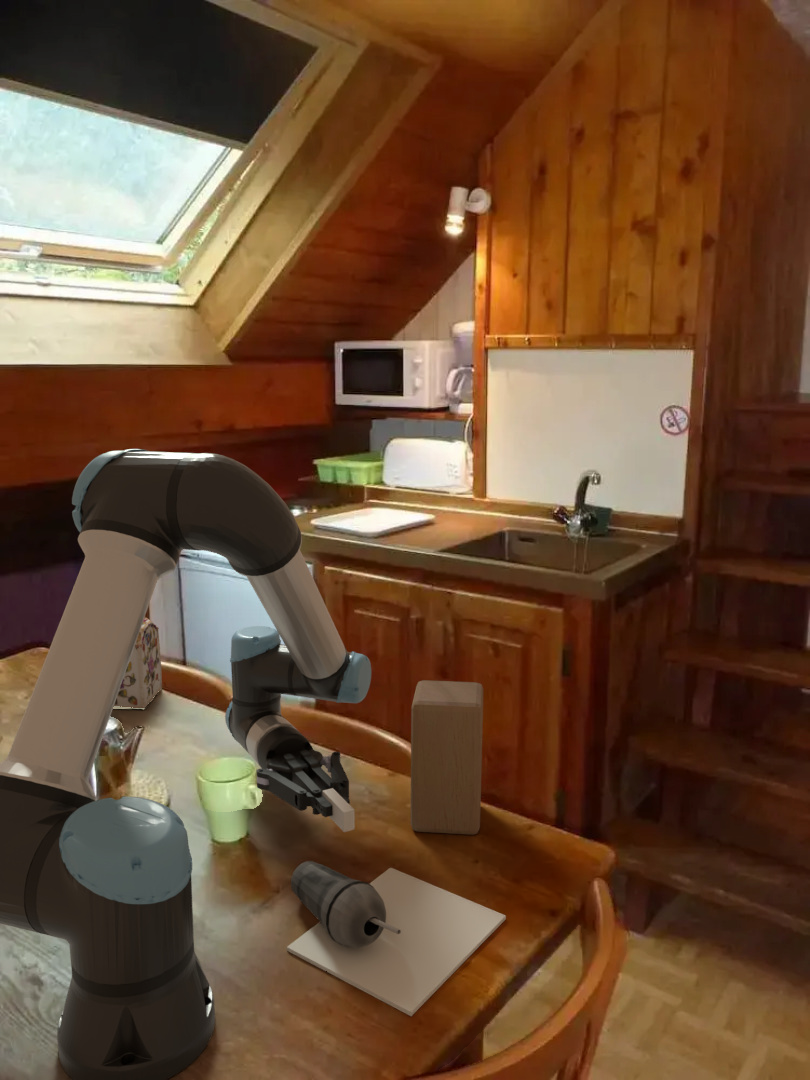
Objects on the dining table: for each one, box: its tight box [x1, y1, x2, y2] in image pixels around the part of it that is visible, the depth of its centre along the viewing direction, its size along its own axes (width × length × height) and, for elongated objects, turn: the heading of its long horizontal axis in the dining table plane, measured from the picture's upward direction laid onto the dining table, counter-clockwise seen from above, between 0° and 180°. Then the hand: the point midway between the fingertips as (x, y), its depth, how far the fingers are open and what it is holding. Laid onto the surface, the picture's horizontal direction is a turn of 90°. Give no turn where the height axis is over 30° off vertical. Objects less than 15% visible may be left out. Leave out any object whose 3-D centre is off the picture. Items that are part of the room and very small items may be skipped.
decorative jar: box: [114, 616, 163, 709], centre depth 173 cm, size 12×12×18 cm
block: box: [410, 679, 484, 836], centre depth 129 cm, size 10×10×20 cm
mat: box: [286, 867, 507, 1017], centre depth 104 cm, size 20×18×1 cm
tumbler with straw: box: [290, 860, 401, 948], centre depth 102 cm, size 7×7×20 cm
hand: (349, 820), depth 110 cm, fingers closed
